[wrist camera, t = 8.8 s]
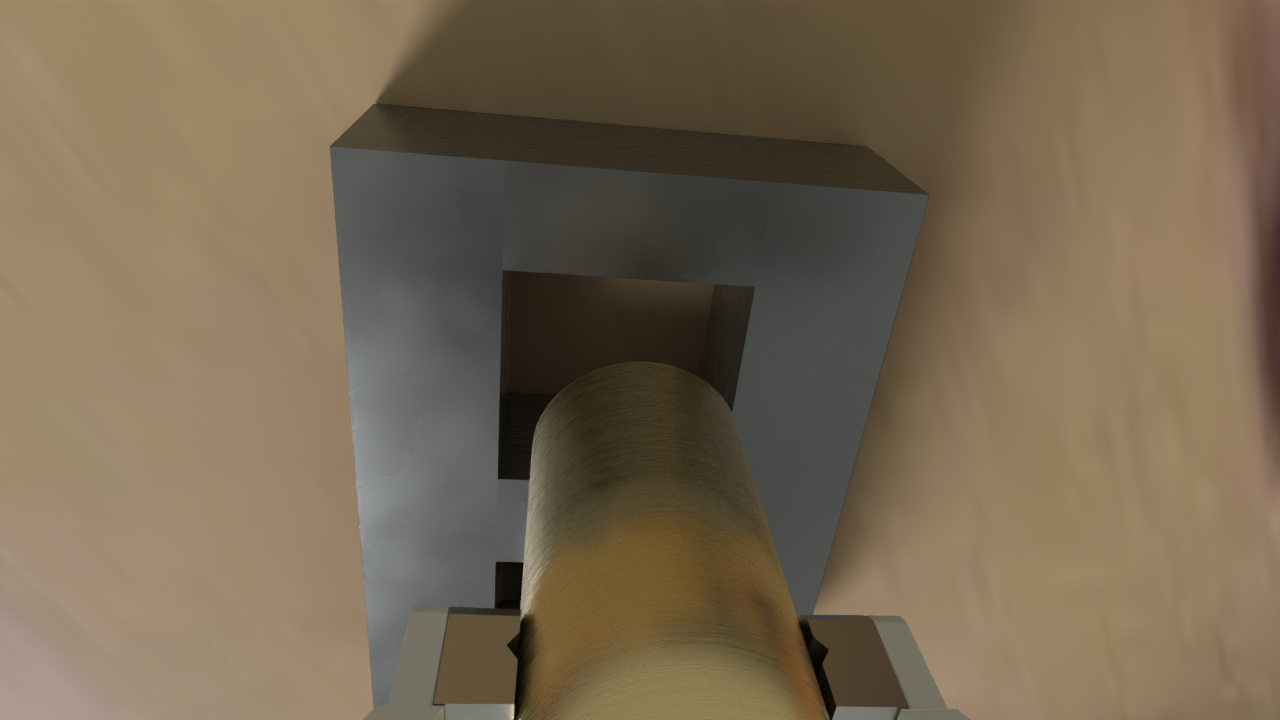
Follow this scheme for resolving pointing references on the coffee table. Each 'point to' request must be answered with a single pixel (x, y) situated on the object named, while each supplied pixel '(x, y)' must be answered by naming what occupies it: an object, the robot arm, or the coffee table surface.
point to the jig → (607, 247)
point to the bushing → (652, 562)
